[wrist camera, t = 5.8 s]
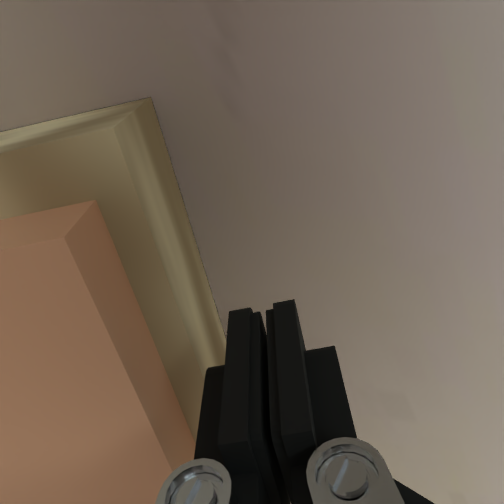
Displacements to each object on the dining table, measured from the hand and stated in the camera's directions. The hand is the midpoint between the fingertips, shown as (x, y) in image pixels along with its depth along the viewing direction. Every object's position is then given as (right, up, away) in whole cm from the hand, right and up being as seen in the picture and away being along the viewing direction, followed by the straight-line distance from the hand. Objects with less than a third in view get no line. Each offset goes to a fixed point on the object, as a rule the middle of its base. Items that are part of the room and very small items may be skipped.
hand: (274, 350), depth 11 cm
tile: (-6, -1, +1) cm, 6 cm away
